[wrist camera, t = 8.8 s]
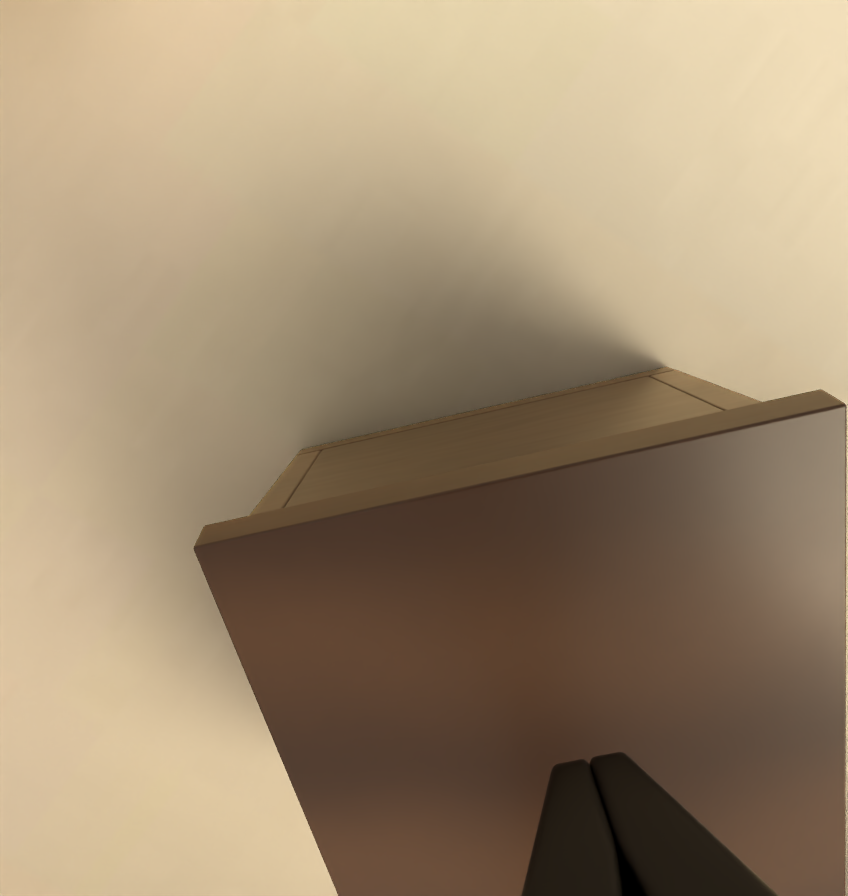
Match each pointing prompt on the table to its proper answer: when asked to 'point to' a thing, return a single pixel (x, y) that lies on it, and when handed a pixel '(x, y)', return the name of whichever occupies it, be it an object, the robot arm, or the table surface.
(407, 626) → the lid
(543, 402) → the tea box
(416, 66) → the table surface
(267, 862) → the table surface
